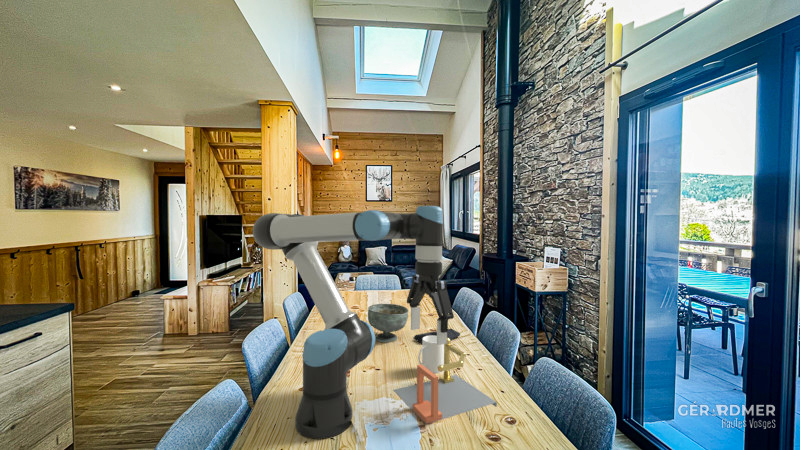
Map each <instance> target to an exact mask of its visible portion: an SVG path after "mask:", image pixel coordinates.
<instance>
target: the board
mask: <svg viewBox="0 0 800 450" xmlns="http://www.w3.org/2000/svg"><path fill="white" fill-rule="evenodd" d="M450 376H451V377H453V378H454V382H450V383H446V384H445V383H444V382H442V381H441V380H440V379H439V378H438V410H439V411H440V412H441V413H442V419H440V420H436V421H433V422H430V423H427V424H426V423H425V422H424V421H423V420H422V418H421V417H420V416H419V415H418V414H417V413H416V412H415V411H414V410H413V404H415V403H418V402H417V383H416V384H412V385H408V386H404V387H400V388H397V389H393V392H394V393H395V394H396V395H397V396H398V397H399V399H401V400H402V401H403V402H404V403H405V404H406V405H407V406H408V407H409V409H410V410H412V411H413V413H414V414H415V415H416V416H417V417H418V418H419V419H420V420H421V421H422V423H424V425H429V424H432V423H435V422H439V421H442V420H445V419H448V418H450V417H451V418H452V417H454V416H457V415H461V414H464V413H467V412H471V411H473V410H477V409H479V408H483V407H486V406H489V405H492V406H494V407H498V406H497V405H498V402H497V401H495V400H494V399H493V398H491V397H490V396H488V395H486V394H485V393H484V392H482V391H481V390H479V389H478V388H476V387H475V386H473V385H472V384H470V383H469V382H467V381H466V380H465V379H463V378H462V377H460V376H458V375H457V374H453V375H450ZM426 400H428V401H429V402H430V403H431V380H429V381H424V393H423V401H426Z"/></svg>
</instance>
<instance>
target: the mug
mask: <svg viewBox="0 0 800 450" xmlns="http://www.w3.org/2000/svg"><path fill="white" fill-rule="evenodd" d="M421 344H422V345H421V346H422V347H421V348H420V350H419V352H418V356H417V360H418V363H419V364H422V365H423V366H425V367H426V368H427V369H429V370H430V371H431V372H433V373H434V374H435V375H437V374H440V373H444V371H442V372H440V371H438V366H439V365H444V344H442V345H437V336H434V335H430V336H425V337H423V339H422V343H421ZM421 356H422V357H421ZM419 364H418V365H419Z"/></svg>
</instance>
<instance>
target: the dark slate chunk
mask: <svg viewBox="0 0 800 450" xmlns="http://www.w3.org/2000/svg"><path fill="white" fill-rule="evenodd" d="M430 335H434V336H437V330H436V331H429V332H425V333H420V334H416V335H414V336H413V340H414V339H415V341H417V340H418V341H417V342H418V343H419V344H422V339H423V337H425V336H430ZM460 336H461V333H460V332H459V331H457V330H456V329H453V328H448V331H447V338H449V339H450V340H451V341H452V339H453V340H455V339H457V338H458V337H460Z"/></svg>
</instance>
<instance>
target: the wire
mask: <svg viewBox="0 0 800 450" xmlns="http://www.w3.org/2000/svg"><path fill="white" fill-rule="evenodd" d="M451 341H452V340H450V339H449V338H447V344H444V365H439V366H438V371H440V373H443V375H439V376H438V379H440V380H441V381H442V382H444V383H445V384H446V383H450V382H454V378H453V377H451V376H452V375H450V370H454V369H458V368H462V367H463V366H464V363H465V360H466V357H467V354H466V352H464V351H462V350H461V349H459V348H457V347H456V346H453V345H451V343H452V342H451ZM450 352H452V353H453V354H455V355H457V356H459V358H458V359H459V360H458V361H454V362H451V353H450ZM442 371H444V372H442Z"/></svg>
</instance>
